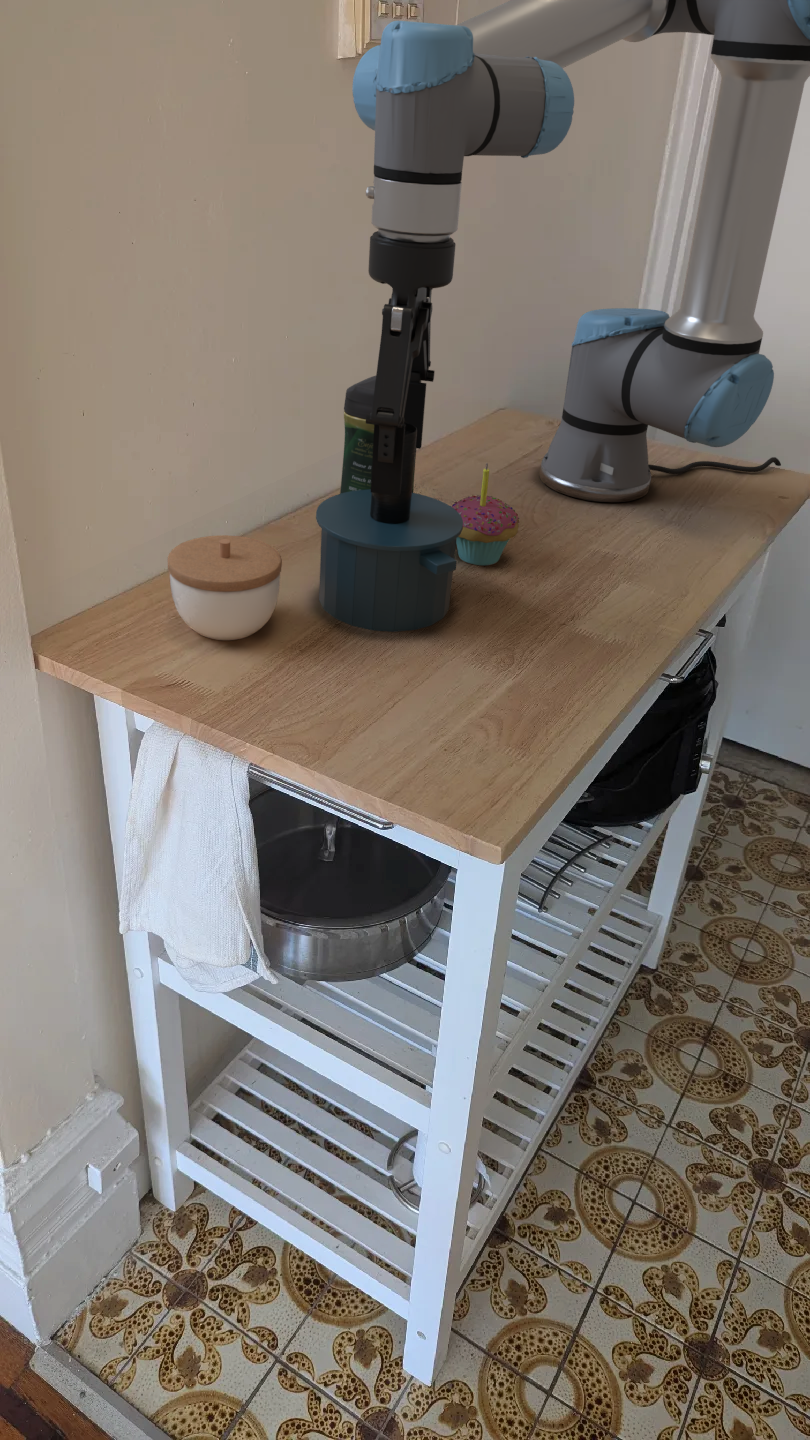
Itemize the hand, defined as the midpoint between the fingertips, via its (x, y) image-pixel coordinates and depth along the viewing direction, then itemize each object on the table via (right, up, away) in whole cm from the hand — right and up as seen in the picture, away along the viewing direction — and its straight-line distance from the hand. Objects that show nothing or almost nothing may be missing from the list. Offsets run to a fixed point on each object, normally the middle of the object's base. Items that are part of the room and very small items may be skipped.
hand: (397, 468), depth 104 cm
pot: (-1, -13, +8) cm, 15 cm away
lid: (-1, -5, +3) cm, 5 cm away
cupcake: (+9, -6, +20) cm, 23 cm away
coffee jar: (-3, -2, +24) cm, 24 cm away
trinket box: (-17, -16, +1) cm, 23 cm away
